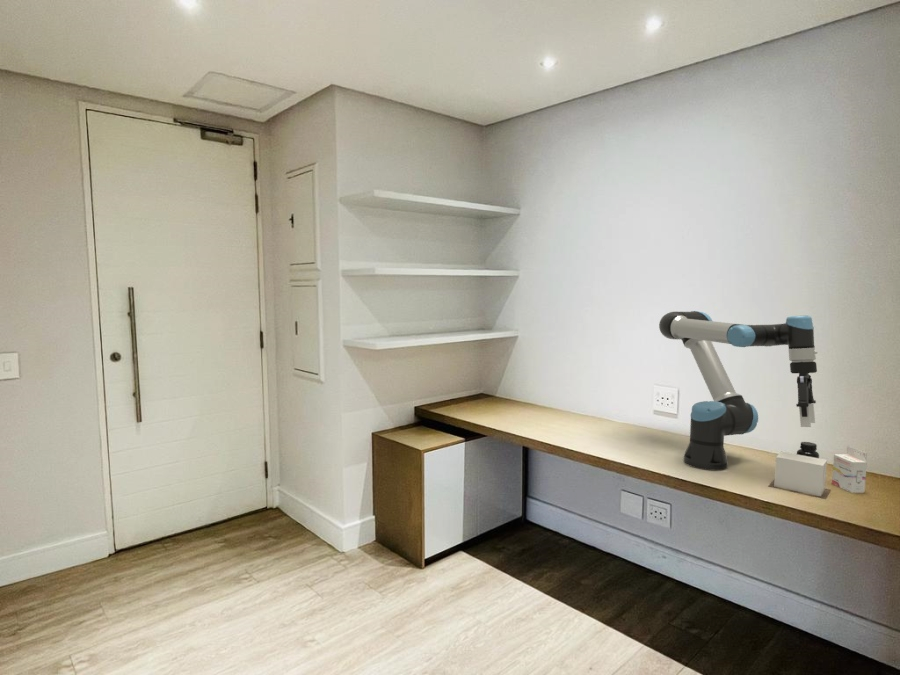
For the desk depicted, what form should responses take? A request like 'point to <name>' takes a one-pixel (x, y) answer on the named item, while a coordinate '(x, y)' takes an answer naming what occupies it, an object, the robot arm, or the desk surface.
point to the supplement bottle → (808, 450)
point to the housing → (800, 473)
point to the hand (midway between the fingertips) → (808, 424)
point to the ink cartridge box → (850, 470)
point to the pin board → (803, 493)
